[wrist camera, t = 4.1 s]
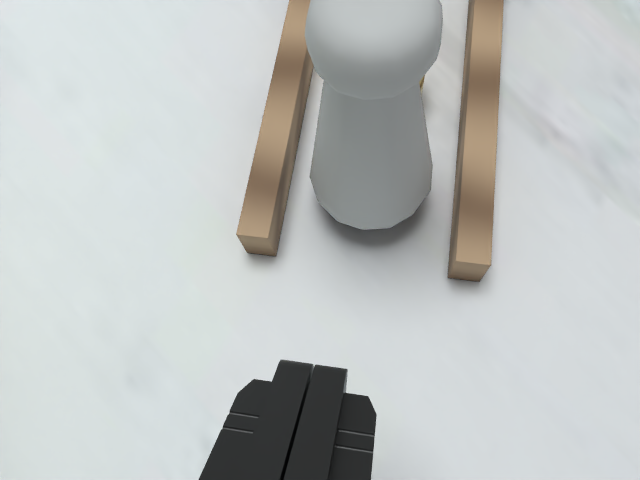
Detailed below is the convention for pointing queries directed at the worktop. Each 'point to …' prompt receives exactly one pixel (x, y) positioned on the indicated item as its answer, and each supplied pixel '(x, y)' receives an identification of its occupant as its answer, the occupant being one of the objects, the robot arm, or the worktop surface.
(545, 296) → the worktop surface
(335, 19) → the salt shaker
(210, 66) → the worktop surface
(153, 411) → the worktop surface
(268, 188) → the slot rails
